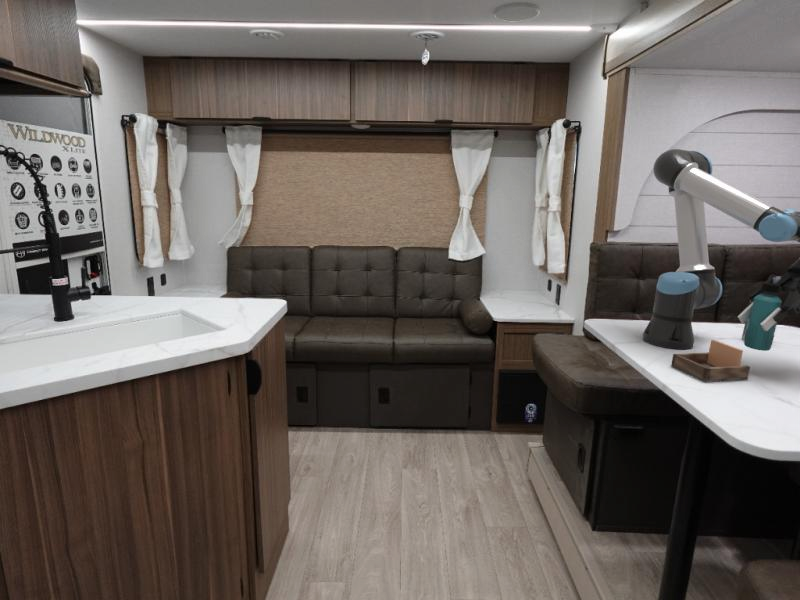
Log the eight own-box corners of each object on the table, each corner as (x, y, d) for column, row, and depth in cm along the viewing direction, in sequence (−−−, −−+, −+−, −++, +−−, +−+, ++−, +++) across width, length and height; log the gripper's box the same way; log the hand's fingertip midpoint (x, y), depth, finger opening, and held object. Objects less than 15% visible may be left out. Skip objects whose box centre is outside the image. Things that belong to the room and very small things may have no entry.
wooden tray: (710, 364, 144) (713, 352, 144) (747, 379, 133) (750, 366, 132) (671, 366, 141) (673, 353, 140) (704, 382, 130) (707, 369, 129)
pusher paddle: (709, 362, 142) (714, 339, 141) (738, 374, 134) (743, 350, 132) (706, 362, 142) (711, 339, 141) (735, 374, 133) (740, 350, 132)
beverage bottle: (773, 357, 135) (791, 287, 130) (745, 353, 137) (761, 284, 132) (765, 350, 141) (782, 282, 136) (738, 346, 143) (754, 279, 138)
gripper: (854, 283, 128) (790, 344, 128) (783, 269, 146) (727, 322, 146) (845, 263, 125) (779, 325, 126) (773, 251, 144) (716, 305, 144)
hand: (751, 323), depth 136 cm, fingers closed on beverage bottle, 6 cm apart
